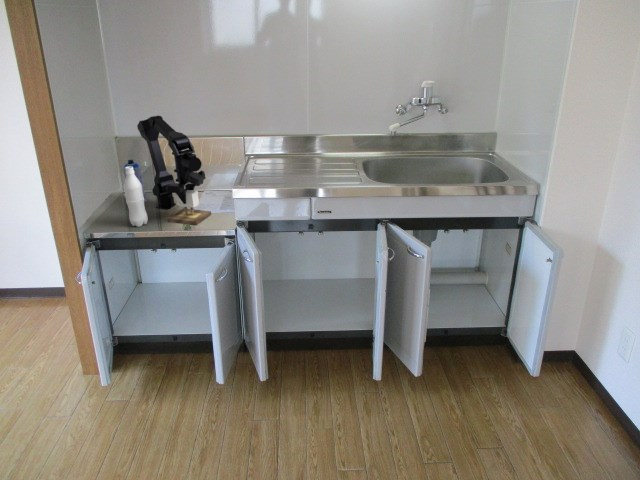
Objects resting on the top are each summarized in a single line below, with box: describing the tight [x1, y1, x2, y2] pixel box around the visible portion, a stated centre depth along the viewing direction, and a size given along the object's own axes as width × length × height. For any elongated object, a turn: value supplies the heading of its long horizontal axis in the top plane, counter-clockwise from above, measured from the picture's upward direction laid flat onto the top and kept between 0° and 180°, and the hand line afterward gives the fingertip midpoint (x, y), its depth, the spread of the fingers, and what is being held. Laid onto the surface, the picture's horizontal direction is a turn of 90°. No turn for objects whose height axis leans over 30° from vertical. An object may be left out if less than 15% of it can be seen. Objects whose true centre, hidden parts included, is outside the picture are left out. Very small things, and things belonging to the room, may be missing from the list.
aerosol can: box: [122, 159, 148, 203], centre depth 232 cm, size 8×8×20 cm
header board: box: [167, 207, 212, 226], centre depth 216 cm, size 14×12×5 cm
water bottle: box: [122, 166, 148, 227], centre depth 206 cm, size 7×7×25 cm
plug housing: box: [175, 190, 200, 209], centre depth 213 cm, size 8×4×6 cm, turn 72°
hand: (187, 201), depth 214 cm, fingers closed on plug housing, 4 cm apart
